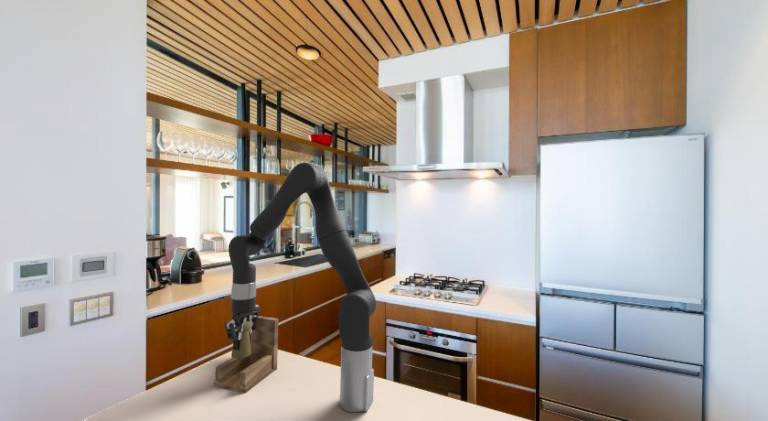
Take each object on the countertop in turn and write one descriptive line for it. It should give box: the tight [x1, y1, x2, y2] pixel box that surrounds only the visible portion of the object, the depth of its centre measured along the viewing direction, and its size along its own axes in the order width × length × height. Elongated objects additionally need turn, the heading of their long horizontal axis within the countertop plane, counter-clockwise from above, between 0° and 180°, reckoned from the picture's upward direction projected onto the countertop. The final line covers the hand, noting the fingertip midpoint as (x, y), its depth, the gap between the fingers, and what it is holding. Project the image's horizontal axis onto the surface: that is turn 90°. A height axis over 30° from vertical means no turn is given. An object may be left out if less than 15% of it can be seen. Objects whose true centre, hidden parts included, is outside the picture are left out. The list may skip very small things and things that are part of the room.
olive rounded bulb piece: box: [231, 321, 251, 359], centre depth 105 cm, size 6×6×11 cm
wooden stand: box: [213, 315, 279, 394], centre depth 108 cm, size 12×16×18 cm
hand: (242, 347), depth 105 cm, fingers closed on olive rounded bulb piece, 4 cm apart
